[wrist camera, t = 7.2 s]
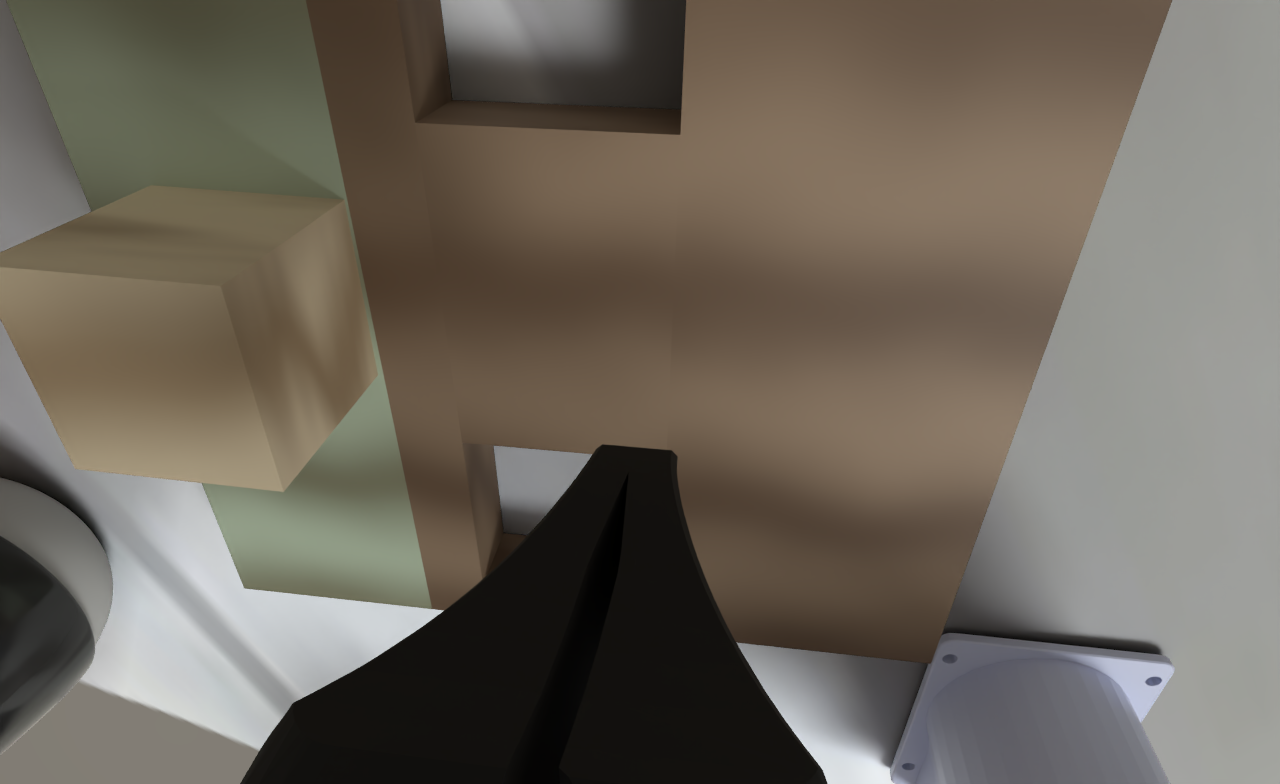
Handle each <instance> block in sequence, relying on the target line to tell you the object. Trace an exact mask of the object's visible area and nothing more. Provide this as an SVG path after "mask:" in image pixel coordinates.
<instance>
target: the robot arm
mask: <svg viewBox="0 0 1280 784" xmlns="http://www.w3.org/2000/svg"><path fill="white" fill-rule="evenodd" d="M677 460H678V456H677V455H676V454H675V453H674V452H673V451H672V450H663V449H651V448H640V447H628V446H617V445H605V444H602V445H601V446H599V447H598V448H597V449H596V450H595V451H594V453H593V455H592V456H591V458H590V459H589V461H588V462H587V464H586V465H585V466H584V468H583V469H582V471H581V472H580V473H579V475H578V476H577V477H576V479H575V480H574V481H573V483H572V484H571V485H570V487H569V488H568V489H567V490H566V492H565V493H564V494H563V495H562V497H561V498H560V499H559V500H558V501H557V503H556V504H555V505H554V506H553V507H552V509H551V510H550V511H549V512H548V513H547V515H546V516H545V517H544V518H543V519H542V520H541V522H540V523H539V524H538V525H537V526H536V527H535V528H534V529H533V530H532V531H531V532H530V533H529V534H528V535H527V536H526V537H525V539H524V540H523V541H522V542H521V543H520V544H519V545H518V546H517V547H516V548H515V549H514V550H513V551H512V552H511V553H510V554H509V555H508V556H507V557H506V558H505V559H504V560H503V561H502V562H501V563H500V564H499V565H498V566H497V567H496V568H494V569H493V570H492V571H491V572H490V573H489V574H488V575H487V576H486V577H484V578H483V579H482V580H481V581H480V582H479V583H478V584H476V585H475V586H474V587H473V588H472V589H471V590H469V591H468V592H467V593H466V594H464V595H463V596H462V597H461V598H459V599H458V600H457V601H456V602H454V603H453V604H452V605H451V606H449V607H448V608H447V609H446V610H444V611H443V612H442V613H441V614H439V615H438V616H437V617H435V618H434V619H432V620H431V621H430V622H428V623H427V624H426V625H424V626H423V627H421V628H420V629H419V630H417V631H416V632H414V633H413V634H411V635H409V636H408V637H406V638H405V639H403V640H402V641H400V642H399V643H397V644H396V645H394V646H393V647H391V648H390V649H388V650H387V651H385V652H384V653H382V654H381V655H379V656H378V657H376V658H374V659H373V660H371V661H370V662H368V663H366V664H365V665H363V666H361V667H360V668H358V669H356V670H354V671H352V672H351V673H349V674H347V675H345V676H343V677H341V678H339V679H338V680H336V681H334V682H332V683H330V684H328V685H327V686H325V687H323V688H321V689H319V690H317V691H315V692H314V693H312V694H310V695H308V696H306V697H304V698H302V699H300V700H298V701H296V702H294V703H293V704H292V705H291V707H290V708H289V710H288V711H287V713H286V714H285V716H284V717H283V718H282V720H281V721H280V722H279V724H278V725H277V726H276V727H275V729H274V730H273V731H272V733H271V734H270V736H269V737H268V739H267V740H266V742H265V743H264V745H263V746H262V748H261V749H260V751H259V753H258V755H257V756H256V758H255V760H254V761H253V763H252V765H251V767H250V768H249V770H248V771H247V773H246V775H245V777H244V778H243V780H242V782H241V783H240V784H827V781H826V778H825V776H824V773H823V770H822V769H821V767H820V766H819V765H818V763H817V762H816V761H815V760H814V758H813V757H812V756H811V754H810V753H809V752H808V751H807V749H806V748H805V747H804V746H803V744H802V743H801V742H800V740H799V739H798V737H797V736H796V735H795V733H794V732H793V731H792V729H791V728H790V727H789V725H788V724H787V723H786V721H785V720H784V718H783V717H782V715H781V714H780V712H779V711H778V709H777V708H776V707H775V705H774V704H773V702H772V701H771V699H770V698H769V696H768V695H767V693H766V692H765V690H764V689H763V687H762V685H761V684H760V682H759V680H758V679H757V677H756V675H755V674H754V672H753V670H752V669H751V667H750V665H749V664H748V662H747V660H746V659H745V657H744V655H743V654H742V652H741V650H740V649H739V647H738V645H737V643H736V641H735V640H734V638H733V636H732V634H731V632H730V630H729V628H728V626H727V624H726V622H725V620H724V618H723V616H722V614H721V612H720V610H719V608H718V606H717V603H716V601H715V599H714V597H713V595H712V592H711V590H710V588H709V585H708V583H707V580H706V578H705V576H704V573H703V570H702V568H701V565H700V562H699V560H698V557H697V554H696V551H695V548H694V545H693V542H692V539H691V536H690V532H689V529H688V525H687V522H686V518H685V515H684V511H683V507H682V502H681V497H680V492H679V486H678V478H677ZM1174 670H1175V669H1174V666H1173V664H1172V663H1171V661H1170V659H1169V658H1168V657H1166V656H1163V655H1158V654H1149V653H1139V652H1130V651H1120V650H1111V649H1101V648H1092V647H1082V646H1073V645H1064V644H1054V643H1045V642H1035V641H1026V640H1016V639H1007V638H997V637H988V636H979V635H969V634H960V633H947V634H943V635H942V636H941V638H940V640H939V643H938V646H937V649H936V651H935V654H934V657H933V660H932V662H931V664H928V666H927V669H926V672H925V675H924V678H923V680H922V683H921V686H920V689H919V691H918V694H917V697H916V700H915V702H914V705H913V708H912V711H911V714H910V716H909V719H908V722H907V725H906V727H905V730H904V733H903V736H902V739H901V741H900V744H899V747H898V750H897V752H896V755H895V758H894V761H893V764H892V766H891V769H890V776H891V780H892V782H893V783H895V784H1170V782H1169V780H1168V778H1167V776H1166V774H1165V772H1164V770H1163V768H1162V766H1161V763H1160V761H1159V759H1158V757H1157V755H1156V753H1155V751H1154V749H1153V747H1152V745H1151V743H1150V741H1149V739H1148V737H1147V735H1146V733H1145V731H1144V729H1143V727H1142V725H1141V722H1142V720H1143V719H1144V717H1145V716H1146V714H1147V713H1148V711H1149V710H1150V708H1151V707H1152V705H1153V704H1154V702H1155V701H1156V699H1157V698H1158V696H1159V694H1160V693H1161V691H1162V690H1163V688H1164V687H1165V685H1166V684H1167V682H1168V681H1169V679H1170V678H1171V676H1172V675H1173V673H1174Z"/></svg>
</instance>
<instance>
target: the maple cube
mask: <svg viewBox="0 0 1280 784" xmlns="http://www.w3.org/2000/svg"><path fill="white" fill-rule="evenodd" d="M0 319H1V321H2V323H3V325H4V327H5V329H6V331H7V333H8V335H9V337H10V339H11V341H12V343H13V345H14V347H15V349H16V351H17V353H18V355H19V357H20V359H21V361H22V363H23V365H24V367H25V369H26V371H27V373H28V375H29V377H30V379H31V381H32V383H33V385H34V387H35V389H36V391H37V393H38V395H39V397H40V399H41V401H42V403H43V405H44V407H45V409H46V411H47V413H48V415H49V417H50V419H51V421H52V423H53V425H54V427H55V429H56V431H57V433H58V435H59V437H60V439H61V441H62V443H63V445H64V447H65V449H66V451H67V453H68V455H69V457H70V459H71V461H72V463H73V465H74V467H75V469H81V470H90V471H99V472H108V473H117V474H126V475H135V476H144V477H153V478H162V479H171V480H180V481H189V482H198V483H207V484H216V485H225V486H234V487H243V488H252V489H261V490H270V491H279V492H284V491H285V490H286V488H287V487H288V486H289V485H290V484H291V482H292V481H293V480H294V479H295V477H296V476H297V475H298V474H299V472H300V471H301V470H302V469H303V467H304V466H305V465H306V464H307V462H308V461H309V460H310V459H311V458H312V456H313V455H314V454H315V453H316V451H317V450H318V449H319V448H320V446H321V445H322V444H323V443H324V441H325V440H326V439H327V438H328V436H329V435H330V434H331V433H332V432H333V430H334V429H335V428H336V427H337V425H338V424H339V423H340V422H341V420H342V419H343V418H344V417H345V415H346V414H347V413H348V412H349V410H350V409H351V408H352V407H353V406H354V404H355V403H356V402H357V401H358V399H359V398H360V397H361V396H362V394H363V393H364V392H365V391H366V389H367V388H368V387H369V386H370V384H371V383H372V382H373V381H374V380H375V378H376V377H377V376H378V372H377V367H376V362H375V356H374V351H373V346H372V341H371V335H370V330H369V325H368V320H367V315H366V309H365V304H364V299H363V294H362V288H361V283H360V278H359V273H358V268H357V262H356V257H355V252H354V247H353V242H352V236H351V231H350V226H349V221H348V215H347V210H346V205H345V200H343V199H330V198H316V197H303V196H290V195H276V194H263V193H250V192H236V191H223V190H210V189H196V188H183V187H170V186H156V185H150V186H148V187H146V188H144V189H141V190H139V191H137V192H135V193H132V194H130V195H128V196H126V197H123V198H121V199H119V200H117V201H115V202H112V203H110V204H108V205H106V206H103V207H101V208H99V209H97V210H94V211H92V212H90V213H88V214H85V215H83V216H81V217H79V218H77V219H74V220H72V221H70V222H68V223H65V224H63V225H61V226H59V227H56V228H54V229H52V230H50V231H47V232H45V233H43V234H41V235H39V236H36V237H34V238H32V239H30V240H27V241H25V242H23V243H21V244H18V245H16V246H14V247H12V248H10V249H7V250H5V251H3V252H1V253H0Z"/></svg>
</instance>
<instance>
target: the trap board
mask: <svg viewBox="0 0 1280 784" xmlns="http://www.w3.org/2000/svg"><path fill="white" fill-rule="evenodd" d="M6 1H7V4H8V6H9V9H10V11H11V14H12V16H13V19H14V21H15V24H16V26H17V28H18V31H19V33H20V36H21V38H22V41H23V43H24V46H25V48H26V51H27V53H28V56H29V58H30V61H31V63H32V65H33V68H34V70H35V73H36V75H37V78H38V80H39V83H40V85H41V88H42V90H43V93H44V95H45V98H46V100H47V102H48V105H49V107H50V110H51V112H52V115H53V117H54V120H55V122H56V125H57V127H58V130H59V132H60V135H61V137H62V140H63V142H64V144H65V147H66V149H67V152H68V154H69V157H70V159H71V162H72V164H73V167H74V169H75V172H76V174H77V177H78V179H79V181H80V184H81V186H82V189H83V191H84V194H85V196H86V199H87V201H88V204H89V206H90V209H91V211H94V210H97V209H99V208H101V207H103V206H106V205H108V204H110V203H112V202H115V201H117V200H119V199H121V198H123V197H126V196H128V195H130V194H132V193H135V192H137V191H139V190H141V189H144V188H146V187H148V186H150V185H156V186H170V187H183V188H196V189H210V190H223V191H236V192H250V193H263V194H276V195H290V196H303V197H316V198H330V199H343V200H345V205H346V210H347V215H348V221H349V226H350V231H351V236H352V242H353V247H354V252H355V257H356V262H357V268H358V273H359V278H360V283H361V288H362V294H363V299H364V304H365V309H366V315H367V320H368V325H369V330H370V335H371V341H372V346H373V351H374V356H375V362H376V367H377V372H378V376H377V377H376V378H375V380H374V381H373V382H372V383H371V384H370V386H369V387H368V388H367V389H366V391H365V392H364V393H363V394H362V396H361V397H360V398H359V399H358V401H357V402H356V403H355V404H354V406H353V407H352V408H351V409H350V410H349V412H348V413H347V414H346V415H345V417H344V418H343V419H342V420H341V422H340V423H339V424H338V425H337V427H336V428H335V429H334V430H333V432H332V433H331V434H330V435H329V436H328V438H327V439H326V440H325V441H324V443H323V444H322V445H321V446H320V448H319V449H318V450H317V451H316V453H315V454H314V455H313V456H312V458H311V459H310V460H309V461H308V462H307V464H306V465H305V466H304V467H303V469H302V470H301V471H300V472H299V474H298V475H297V476H296V477H295V479H294V480H293V481H292V482H291V484H290V485H289V486H288V487H287V488H286V490H285V491H284V492H279V491H270V490H261V489H252V488H243V487H234V486H225V485H216V484H207V483H202V485H203V487H204V490H205V492H206V495H207V497H208V500H209V502H210V505H211V507H212V510H213V512H214V515H215V517H216V520H217V522H218V524H219V527H220V529H221V532H222V534H223V537H224V539H225V542H226V544H227V547H228V549H229V552H230V554H231V557H232V559H233V561H234V564H235V566H236V569H237V571H238V574H239V576H240V579H241V581H242V584H243V586H244V588H247V589H256V590H265V591H274V592H283V593H292V594H301V595H310V596H319V597H328V598H337V599H347V600H356V601H365V602H374V603H383V604H392V605H401V606H410V607H419V608H428V609H438V610H446V609H447V608H448V607H449V606H451V605H452V604H453V603H454V602H456V601H457V600H458V599H459V598H461V597H462V596H463V595H464V594H466V593H467V592H468V591H469V590H471V589H472V588H473V587H474V586H475V585H476V584H478V583H479V582H480V581H481V580H482V579H483V578H484V577H486V576H487V575H488V574H489V573H490V572H491V571H492V570H493V569H494V568H496V567H497V566H498V565H499V564H500V563H501V562H502V561H503V560H504V559H505V558H506V557H507V556H508V555H509V554H510V553H511V552H512V551H513V550H514V549H515V548H516V547H517V546H518V545H519V544H520V543H521V542H522V541H523V540H524V539H525V537H526V536H527V535H517V534H507V533H504V532H503V523H502V515H501V506H500V498H499V490H498V481H497V473H496V464H495V456H494V448H493V445H495V446H506V447H518V448H529V449H541V450H552V451H563V452H575V453H586V454H593V453H594V451H595V450H596V449H597V448H598V447H599V446H601V445H602V444H605V445H617V446H628V447H640V448H651V449H663V450H672V451H673V452H674V453H675V454H676V455H677V456H678V460H677V478H678V486H679V492H680V497H681V502H682V507H683V511H684V515H685V518H686V522H687V525H688V529H689V532H690V536H691V539H692V542H693V545H694V548H695V551H696V554H697V557H698V560H699V562H700V565H701V568H702V570H703V573H704V576H705V578H706V580H707V583H708V585H709V588H710V590H711V592H712V595H713V597H714V599H715V601H716V603H717V606H718V608H719V610H720V612H721V614H722V616H723V618H724V620H725V622H726V624H727V626H728V628H729V630H730V632H731V634H732V636H733V638H734V640H735V641H736V642H738V643H747V644H756V645H765V646H774V647H783V648H792V649H801V650H810V651H820V652H829V653H838V654H847V655H856V656H865V657H874V658H883V659H892V660H901V661H910V662H920V663H929V664H931V662H932V660H933V657H934V654H935V651H936V649H937V646H938V643H939V640H940V638H941V635H942V632H943V629H944V627H945V624H946V621H947V618H948V616H949V613H950V610H951V607H952V605H953V602H954V599H955V596H956V594H957V591H958V588H959V585H960V583H961V580H962V577H963V574H964V572H965V569H966V566H967V563H968V561H969V558H970V555H971V552H972V550H973V547H974V544H975V541H976V539H977V536H978V533H979V530H980V528H981V525H982V522H983V519H984V517H985V514H986V511H987V508H988V506H989V503H990V500H991V497H992V495H993V492H994V489H995V486H996V484H997V481H998V478H999V475H1000V473H1001V470H1002V467H1003V464H1004V462H1005V459H1006V456H1007V453H1008V451H1009V448H1010V445H1011V442H1012V440H1013V437H1014V434H1015V431H1016V429H1017V426H1018V423H1019V420H1020V418H1021V415H1022V412H1023V409H1024V407H1025V404H1026V401H1027V398H1028V396H1029V393H1030V390H1031V387H1032V385H1033V382H1034V379H1035V376H1036V374H1037V371H1038V368H1039V365H1040V363H1041V360H1042V357H1043V354H1044V352H1045V349H1046V346H1047V343H1048V341H1049V338H1050V335H1051V332H1052V330H1053V327H1054V324H1055V321H1056V319H1057V316H1058V313H1059V310H1060V308H1061V305H1062V302H1063V299H1064V297H1065V294H1066V291H1067V288H1068V286H1069V283H1070V280H1071V277H1072V275H1073V272H1074V269H1075V266H1076V264H1077V261H1078V258H1079V255H1080V253H1081V250H1082V247H1083V244H1084V242H1085V239H1086V236H1087V233H1088V231H1089V228H1090V225H1091V222H1092V220H1093V217H1094V214H1095V211H1096V209H1097V206H1098V203H1099V200H1100V198H1101V195H1102V192H1103V189H1104V187H1105V184H1106V181H1107V178H1108V176H1109V173H1110V170H1111V167H1112V165H1113V162H1114V159H1115V156H1116V154H1117V151H1118V148H1119V145H1120V143H1121V140H1122V137H1123V134H1124V132H1125V129H1126V126H1127V123H1128V121H1129V118H1130V115H1131V112H1132V110H1133V107H1134V104H1135V101H1136V99H1137V96H1138V93H1139V90H1140V88H1141V85H1142V82H1143V79H1144V77H1145V74H1146V71H1147V68H1148V66H1149V63H1150V60H1151V57H1152V55H1153V52H1154V49H1155V46H1156V44H1157V41H1158V38H1159V35H1160V33H1161V30H1162V27H1163V24H1164V22H1165V19H1166V16H1167V13H1168V11H1169V8H1170V5H1171V2H1172V0H686V18H685V41H684V65H683V88H682V110H677V109H653V108H629V107H605V106H582V105H558V104H534V103H510V102H486V101H462V100H452V95H451V86H450V78H449V69H448V61H447V53H446V44H445V36H444V27H443V19H442V11H441V2H440V0H6Z"/></svg>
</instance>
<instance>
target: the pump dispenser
mask: <svg viewBox="0 0 1280 784" xmlns="http://www.w3.org/2000/svg"><path fill="white" fill-rule="evenodd" d="M112 596H113V579H112V572H111V568H110V564H109V561H108V558H107V556H106V554H105V552H104V549H103V548H102V546H101V544H100V542H99V541H98V539H97V538H96V537H95V535H94V534H93V533H92V531H91V530H90V529H89V528H88V527H87V525H86V524H85V523H84V522H83V521H82V520H81V519H80V518H78V517H77V516H76V515H75V514H74V513H73V512H71V511H70V510H69V509H68V508H66V507H65V506H64V505H62V504H61V503H59V502H58V501H56V500H54V499H53V498H51V497H49V496H48V495H46V494H44V493H42V492H40V491H38V490H35V489H33V488H31V487H28V486H26V485H23V484H21V483H18V482H15V481H11V480H7V479H4V478H0V755H1V754H2V753H3V752H5V751H6V750H7V749H8V748H9V747H10V746H11V745H13V744H14V743H15V742H16V741H17V740H18V739H19V738H20V737H22V736H23V735H24V734H25V733H26V732H27V731H28V730H29V729H30V728H32V727H33V726H34V725H35V724H36V723H37V722H38V721H39V720H40V719H41V718H42V717H44V716H45V715H46V714H47V713H48V712H49V711H50V710H51V709H52V708H53V707H54V706H55V705H56V704H57V703H58V702H59V701H60V700H61V699H62V698H63V697H64V696H65V695H66V694H67V693H68V692H69V691H70V690H71V689H72V688H73V687H74V686H75V684H76V683H77V682H78V681H79V680H80V679H81V678H82V676H83V675H84V674H85V673H86V671H87V670H88V669H89V667H90V665H91V664H92V661H93V658H94V654H95V645H96V643H97V641H98V639H99V637H100V635H101V633H102V631H103V629H104V627H105V624H106V622H107V619H108V616H109V613H110V609H111V604H112Z"/></svg>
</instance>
